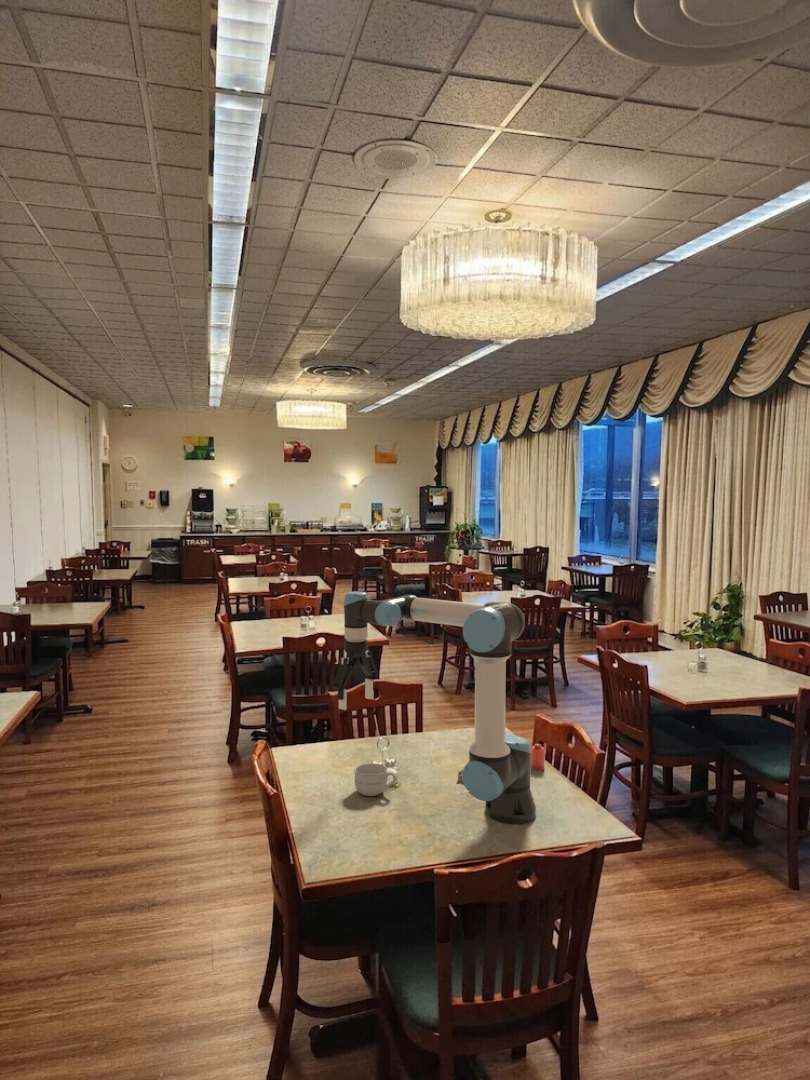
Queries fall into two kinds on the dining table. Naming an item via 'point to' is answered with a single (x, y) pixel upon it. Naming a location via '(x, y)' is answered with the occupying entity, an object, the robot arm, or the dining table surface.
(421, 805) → the dining table surface
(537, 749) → the red cylinder with knob
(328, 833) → the dining table surface
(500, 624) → the robot arm
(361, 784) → the teacup
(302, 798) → the dining table surface
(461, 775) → the panel
